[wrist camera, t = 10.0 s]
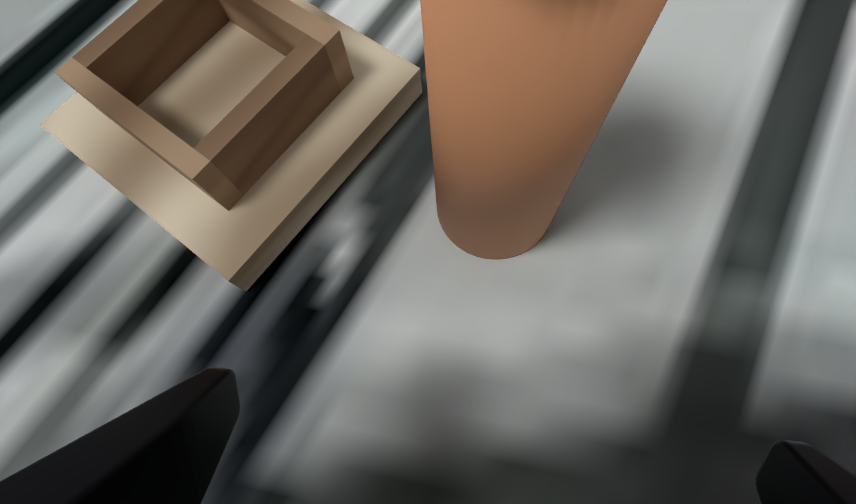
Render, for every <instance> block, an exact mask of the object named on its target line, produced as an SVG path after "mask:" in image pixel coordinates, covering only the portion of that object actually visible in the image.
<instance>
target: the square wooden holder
mask: <svg viewBox="0 0 856 504" xmlns="http://www.w3.org/2000/svg"><path fill="white" fill-rule="evenodd" d="M54 73H55V74H57V75H58V76H59V77H60V78H61V79H63V80H64V81H65V82H66V83H67V84H68V85H70V86H71V87H72V88H73V89H74V90H76V91H77V92H76V93H75V94H74V95H73V96H72V97H70V98H69V99H68V100H67V101H66V102H65V103H64V104H63V105H61V106H60V107H59V108H58V109H57V110H56V111H55V112H53V113H52V114H51V115H50V116H49V117H48V118H47V119H46V120H44V121H43V122H42V123H41V124H40V126H41V127H43V128H44V129H45V130H46V131H47V132H49V133H50V134H51V135H52V136H53V137H55V138H56V139H57V140H58V141H59V142H61V143H62V144H63V145H64V146H65V147H67V148H68V149H69V150H70V151H72V152H73V153H74V154H75V155H76V156H78V157H79V158H80V159H81V160H82V161H84V162H85V163H86V164H87V165H88V166H90V167H91V168H92V169H93V170H94V171H96V172H97V173H98V174H99V175H101V176H102V177H103V178H104V179H105V180H107V181H108V182H109V183H110V184H111V185H113V186H114V187H115V188H116V189H117V190H119V191H120V192H121V193H122V194H123V195H125V196H126V197H127V198H128V199H130V200H131V201H132V202H133V203H134V204H136V205H137V206H138V207H139V208H140V209H142V210H143V211H144V212H145V213H146V214H148V215H149V216H150V217H151V218H152V219H154V220H155V221H156V222H157V223H159V224H160V225H161V226H162V227H163V228H165V229H166V230H167V231H168V232H169V233H171V234H172V235H173V236H174V237H175V238H177V239H178V240H179V241H180V242H182V243H183V244H184V245H185V246H186V247H188V248H189V249H190V250H191V251H192V252H194V253H195V254H196V255H197V256H198V257H200V258H201V259H202V260H203V261H204V262H206V263H207V264H208V265H209V266H211V267H212V268H213V269H214V270H215V271H217V272H218V273H219V274H220V275H221V276H223V277H224V278H225V279H226V280H227V281H229V282H231V283H232V284H234V285H236V286H238V287H239V288H241V289H243V290H245V291H247V290H248V289H249V288H250V287H251V286H252V285H253V283H254V282H255V281H256V280H257V279H258V278H259V277H260V276H261V274H262V273H263V272H264V271H265V270H266V269H267V268H268V266H269V265H270V264H271V263H272V262H273V261H274V260H275V259H276V257H277V256H278V255H279V254H280V253H281V252H282V251H283V250H284V248H285V247H286V246H287V245H288V244H289V243H290V242H291V240H292V239H293V238H294V237H295V236H296V235H297V234H298V233H299V231H300V230H301V229H302V228H303V227H304V226H305V225H306V224H307V222H308V221H309V220H310V219H311V218H312V217H313V216H314V215H315V213H316V212H317V211H318V210H319V209H320V208H321V207H322V205H323V204H324V203H325V202H326V201H327V200H328V199H329V198H330V196H331V195H332V194H333V193H334V192H335V191H336V190H337V189H338V187H339V186H340V185H341V184H342V183H343V182H344V181H345V179H346V178H347V177H348V176H349V175H350V174H351V173H352V172H353V170H354V169H355V168H356V167H357V166H358V165H359V164H360V163H361V161H362V160H363V159H364V158H365V157H366V156H367V155H368V153H369V152H370V151H371V150H372V149H373V148H374V147H375V146H376V144H377V143H378V142H379V141H380V140H381V139H382V138H383V137H384V135H385V134H386V133H387V132H388V131H389V130H390V129H391V127H392V126H393V125H394V124H395V123H396V122H397V121H398V120H399V118H400V117H401V116H402V115H403V114H404V113H405V112H406V111H407V109H408V108H409V107H410V106H411V105H412V104H413V103H414V101H415V100H416V99H417V98H418V97H419V96H420V95H421V94H422V84H421V73H420V68H418V67H417V66H415V65H413V64H412V63H410V62H408V61H407V60H405V59H403V58H401V57H400V56H398V55H396V54H395V53H393V52H391V51H390V50H388V49H386V48H384V47H383V46H381V45H379V44H378V43H376V42H374V41H373V40H371V39H369V38H368V37H366V36H364V35H362V34H361V33H359V32H357V31H356V30H354V29H352V28H351V27H349V26H347V25H345V24H344V23H342V22H340V21H339V20H337V19H335V18H334V17H332V16H330V15H328V14H327V13H325V12H323V11H322V10H320V9H318V8H317V7H315V6H313V5H312V4H310V3H308V2H306V1H305V0H138V1H137V2H136V3H135V4H134V5H132V6H131V7H130V8H129V9H128V10H127V11H125V12H124V13H123V14H122V15H121V16H120V17H118V18H117V19H116V20H115V21H114V22H113V23H111V24H110V25H109V26H108V27H107V28H106V29H104V30H103V31H102V32H101V33H100V34H99V35H97V36H96V37H95V38H94V39H93V40H92V41H90V42H89V43H88V44H87V45H86V46H85V47H83V48H82V49H81V50H80V51H79V52H78V53H76V54H75V55H74V56H73V57H72V58H71V59H70V60H68V61H67V62H66V63H65V64H64V65H63V66H61V67H60V68H59V69H58V70H57V71H56V72H54Z"/></svg>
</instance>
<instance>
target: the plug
mask: <svg viewBox="0 0 856 504" xmlns="http://www.w3.org/2000/svg"><path fill="white" fill-rule="evenodd" d="M420 2H421V15H422V28H423V40H424V53H425V65H426V78H427V90H428V103H429V115H430V128H431V140H432V153H433V166H434V178H435V191H436V203H437V213H438V218H439V222H440V224H441V226H442V228H443V230H444V232H445V233H446V235H447V236H448V237H449V239H450V240H451V241H452V242H453V243H454V244H455V245H456V246H458V247H459V248H461V249H462V250H464V251H465V252H467V253H469V254H472V255H474V256H477V257H481V258H486V259H506V258H510V257H514V256H517V255H520V254H522V253H524V252H526V251H528V250H529V249H530V248H532V247H533V246H534V245H536V244H537V243H538V242H539V241H540V239H541V238H542V237H543V236H544V234H545V232H546V230H547V229H548V227H549V225H550V223H551V221H552V219H553V217H554V215H555V213H556V212H557V210H558V208H559V206H560V204H561V202H562V200H563V198H564V196H565V194H566V193H567V191H568V189H569V187H570V185H571V183H572V181H573V179H574V177H575V175H576V173H577V172H578V170H579V168H580V166H581V164H582V162H583V160H584V158H585V156H586V154H587V153H588V151H589V149H590V147H591V145H592V143H593V141H594V139H595V137H596V135H597V133H598V132H599V130H600V128H601V126H602V124H603V122H604V120H605V118H606V116H607V114H608V113H609V111H610V109H611V107H612V105H613V103H614V101H615V99H616V97H617V95H618V93H619V92H620V90H621V88H622V86H623V84H624V82H625V80H626V78H627V76H628V74H629V73H630V71H631V69H632V67H633V65H634V63H635V61H636V59H637V57H638V55H639V54H640V52H641V50H642V48H643V46H644V44H645V42H646V40H647V38H648V36H649V34H650V33H651V31H652V29H653V27H654V25H655V23H656V21H657V19H658V17H659V15H660V14H661V12H662V10H663V8H664V6H665V4H666V2H667V0H420Z"/></svg>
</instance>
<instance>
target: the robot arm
mask: <svg viewBox="0 0 856 504" xmlns="http://www.w3.org/2000/svg"><path fill="white" fill-rule="evenodd" d="M239 413H240V399H239V393H238V387H237V380H236V376H235V373H234V372H233V371H232V370H230V369H224V368H217V367H210V368H207V369H205V370H203V371H201V372H199V373H197V374H196V375H194V376H192V377H190V378H188V379H186V380H185V381H183V382H181V383H179V384H177V385H175V386H174V387H172V388H170V389H168V390H166V391H164V392H163V393H161V394H159V395H157V396H155V397H153V398H152V399H150V400H148V401H146V402H144V403H143V404H141V405H139V406H137V407H135V408H133V409H132V410H130V411H128V412H126V413H124V414H122V415H121V416H119V417H117V418H115V419H113V420H111V421H110V422H108V423H106V424H104V425H102V426H101V427H99V428H97V429H95V430H93V431H91V432H90V433H88V434H86V435H84V436H82V437H80V438H79V439H77V440H75V441H73V442H71V443H69V444H68V445H66V446H64V447H62V448H60V449H58V450H57V451H55V452H53V453H51V454H49V455H48V456H46V457H44V458H42V459H40V460H38V461H37V462H35V463H33V464H31V465H29V466H27V467H26V468H24V469H22V470H20V471H18V472H16V473H15V474H13V475H11V476H9V477H7V478H5V479H4V480H2V481H0V504H201V502H202V499H203V497H204V495H205V493H206V491H207V489H208V486H209V484H210V482H211V479H212V477H213V475H214V473H215V470H216V468H217V466H218V463H219V461H220V459H221V456H222V454H223V452H224V450H225V447H226V445H227V443H228V440H229V438H230V436H231V433H232V431H233V429H234V427H235V424H236V422H237V420H238V417H239ZM756 487H757V491H758V494H759V497H760V500H761V503H762V504H856V476H854V475H853V474H851V473H850V472H848V471H847V470H846V469H844V468H843V467H841V466H840V465H838V464H837V463H835V462H834V461H833V460H831V459H830V458H828V457H827V456H825V455H824V454H823V453H821V452H820V451H818V450H817V449H815V448H814V447H812V446H811V445H809V444H807V443H803V442H796V441H788V440H778V441H776V442H775V443H773V445H772V446H771V448H770V450H769V452H768V454H767V456H766V457H765V459H764V461H763V463H762V465H761V467H760V469H759V471H758V473H757V477H756Z"/></svg>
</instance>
